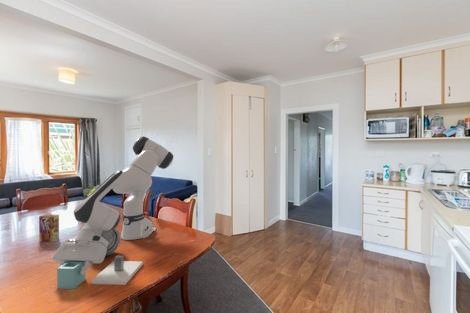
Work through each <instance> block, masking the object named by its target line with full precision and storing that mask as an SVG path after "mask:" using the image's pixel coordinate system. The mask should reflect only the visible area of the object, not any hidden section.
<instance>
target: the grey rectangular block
mask: <svg viewBox="0 0 470 313" xmlns="http://www.w3.org/2000/svg"><path fill="white" fill-rule="evenodd" d="M124 257H125V256H124V255H116V256H115V257H114V259H113V261H114V271H122V270H123V269H124V261H125V260H124Z"/></svg>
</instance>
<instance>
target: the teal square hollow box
mask: <svg viewBox="0 0 470 313" xmlns="http://www.w3.org/2000/svg"><path fill="white" fill-rule="evenodd" d="M84 266H85V261H68V262H66V263H65V264H63V265H62V266H60V265H59V267H57V268H56V275H57V276H56V277H57V279H56V286H57V289H59V290H61V289H63V290H64V289H66V290H74V289H75V288H77V287H78V286H79V285H81V284H82V283H83V282H84V281H86V274H87V273H86V270H87V269H86V270H85V272H84V274H83V275H82V274H78V271H79V269H82V268H83V267H84Z"/></svg>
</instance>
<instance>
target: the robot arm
mask: <svg viewBox="0 0 470 313" xmlns="http://www.w3.org/2000/svg"><path fill="white" fill-rule="evenodd" d="M132 150H133V152H134V154H135V156H136V157H135V158H134V159H133V160H132V162H131V163H130V164H129V165H128V166H127V167H126V168H125V169H122V170H117V171H115V172H113V173H112V174H111V175H110V176H109V177H108V178H106V179H105V180H104V181H103V182H102V183H101V184H100V185H98V187H96V189H95V190H94V191H93V192H91V193H90V194H89V195H88V196H87V197H86V198H84V199H83V200H81V202H79V203H78V204H77V205H76V207H75V208H74V210H73V215H74V219H75V220H76V221H77V222H80V223H83V224H84V225H83V226H82V228H81V229H80V230H79V232H78V234H77V236H76V238H75V239H67V240H65V241H63V242H62V243H61V245H60V246H59V247H58V248H57V250H56V251H55V253H53V256H52V259H53V261H54V262H56V263H59V264H60V265H59V267H60V266H62V265H63V264H65V263H66V262H68V261H85V266H84V267H83V268H82V269H79V271H78V274H82V275H83V274H84V272H85V270H88V269H89V268H90V267H91V265H92V264H101V263H102V262H104V260H105V257H106V256H105V255H106V252H107V248H106V247H107V246H108V244H109V243H108V241H107V240H106V239H104V238H103V237H101V234H102V232H103V231H110V230H113V229H116V228H117V227H118V225H119V223H120V221H121V214H120V212H119V210H116V209H114V208H112V207H110V206H108V205H106V204H104V203H101V202H100V201H101V200H102V199H103V198H104V197H105V196H106V195H107V194H108V193H109V192H110V191H111V190H112V191H113V192H114V193H116V194H123V195H124V194H130V195H129V196H128V197H126V199H125V200H124V202H123V215H122V221H123V222H122V227H121V229H122V230H121V232H120V240H121V239H122V240H126V241H131V240H132V241H134V240H137V239H139V240H140V239H145V238H147V237H149V236H150V235H151V234H153V233H154V232H155V231H156V230H157V229H156V227H155V226H154V227H153V222H152V221H151V220H149V219H148V218H146V216H147V215H148V212H147V211H144V199H145V196H146V193H147V192H148V190H149V189H150V188H151V187H152V184H153V180H152V175H153V173H154V171H155V170H156V168H157V167H158V169H159V168H160V169H162V170H165V169H167V168H169V167H170V166H171V165H172V163H173V160H174V154H173V153H172V152H171V151H169V149H166V148H165V147H164V146H163V145H161V144H159V143H157V142H156V141H154V140H151V139H150V138H149V137H147V136H140V137H139V138H137V139H135V141H134V142H133V146H132ZM153 231H154V232H153ZM152 232H153V233H152Z"/></svg>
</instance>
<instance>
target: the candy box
mask: <svg viewBox="0 0 470 313" xmlns="http://www.w3.org/2000/svg"><path fill="white" fill-rule="evenodd" d="M38 216H39V217H38V220H39V221H38V223H39V224H38V226H39V227H38V229H39V233H38V234H39V238H38V239H39V242H40V243H45V242H46V243H47V242H48V243H49V242H50V243H52V242H55V241H58V240H60V214H42V215H38Z"/></svg>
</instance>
